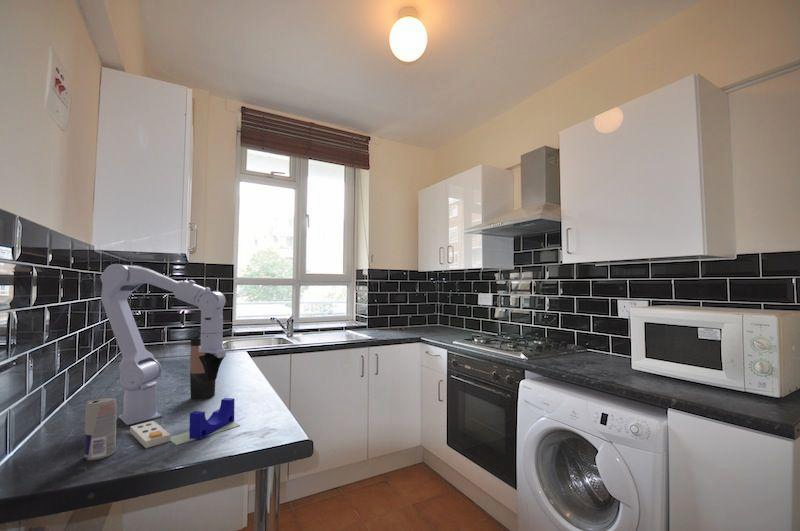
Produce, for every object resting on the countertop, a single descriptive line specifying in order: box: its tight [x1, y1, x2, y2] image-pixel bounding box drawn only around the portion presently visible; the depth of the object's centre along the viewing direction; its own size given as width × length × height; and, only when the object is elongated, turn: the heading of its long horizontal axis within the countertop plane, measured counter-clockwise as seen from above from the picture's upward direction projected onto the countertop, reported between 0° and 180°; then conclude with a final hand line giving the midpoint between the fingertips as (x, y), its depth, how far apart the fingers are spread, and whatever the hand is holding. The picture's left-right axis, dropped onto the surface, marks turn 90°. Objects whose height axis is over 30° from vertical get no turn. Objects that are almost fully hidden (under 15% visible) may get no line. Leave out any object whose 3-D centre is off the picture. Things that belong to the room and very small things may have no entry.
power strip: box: [129, 420, 171, 449], centre depth 89 cm, size 14×5×2 cm, turn 49°
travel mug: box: [189, 335, 216, 401], centre depth 121 cm, size 8×8×20 cm
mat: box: [169, 420, 241, 446], centre depth 91 cm, size 6×15×1 cm, turn 139°
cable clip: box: [189, 397, 235, 440], centre depth 93 cm, size 12×4×6 cm, turn 165°
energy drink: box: [83, 396, 118, 461], centre depth 80 cm, size 5×5×12 cm
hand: (211, 379), depth 104 cm, fingers closed
